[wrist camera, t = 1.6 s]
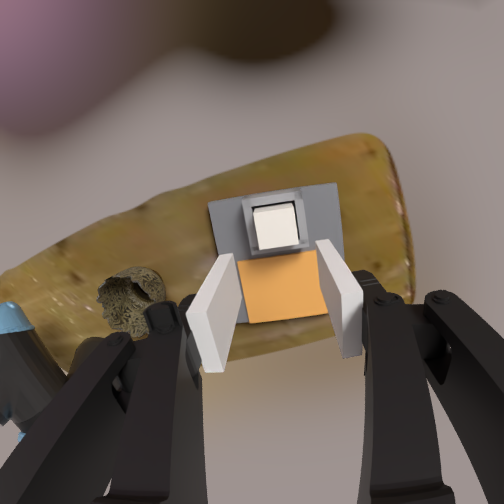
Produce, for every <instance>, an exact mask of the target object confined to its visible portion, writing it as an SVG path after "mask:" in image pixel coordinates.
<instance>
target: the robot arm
mask: <svg viewBox="0 0 504 504" xmlns="http://www.w3.org/2000/svg"><path fill="white" fill-rule="evenodd" d="M315 245H316V254H317V263H318V273H319V284H320V289H321V292H322V295H323V298H324V301H325V304H326V307H327V310H328V313H329V316H330V319H331V322H332V325H333V328H334V332H335V335H336V338H337V341H338V344H339V348H340V351H341V354H342V358H343V359H344V358H349V357H354V356H359V355H362V345H363V346H364V348H365V350H366V353H365V368H364V369H365V370H364V376H365V426H364V444H363V456H362V457H363V458H362V468H361V477H360V485H359V494H358V500H357V504H455V497H454V492H453V491H452V489H451V487H449V486H447V485H445V484H444V483H443V481H442V475H441V463H440V453H439V445H438V438H437V431H436V425H435V419H434V414H433V408H432V403H431V398H430V393H429V388H428V384H427V380H428V382H429V383H430V385H431V387H432V388H433V390H434V392H435V394H436V395H437V397H438V399H439V401H440V403H441V404H442V406H443V408H444V410H445V412H446V414H447V415H448V417H449V419H450V421H451V423H452V425H453V427H454V429H455V431H456V432H457V435H458V437H459V438H460V440H461V443H462V445H463V446H464V449H465V451H466V453H467V455H468V457H469V459H470V461H471V464H472V466H473V468H474V470H475V472H476V475H477V477H478V479H479V482H480V484H481V486H482V489H483V491H484V494H485V496H486V499H487V501H488V504H504V339H503V338H502V337H501V336H500V335H499V334H498V333H497V332H496V331H495V330H494V329H493V328H492V327H491V326H490V325H489V324H488V323H487V322H486V321H485V320H483V319H482V318H481V317H480V316H479V315H478V314H477V313H476V312H475V311H474V310H473V309H471V308H470V307H469V306H468V305H467V304H466V303H465V302H464V301H462V300H461V299H460V298H459V297H458V296H457V295H455V294H454V293H452V292H448V291H446V290H438V291H433V292H430V293H428V294H427V295H426V296H425V300H424V304H413V305H412V304H405V303H404V300H403V299H402V297H401V296H399V295H397V294H394V293H390V292H386V290H385V289H384V288H383V287H382V285H381V284H380V283H379V281H378V280H377V279H376V278H375V277H374V275H373V274H372V273H370V272H368V271H366V270H360V271H354V272H351V271H350V270H349V268H348V267H347V265H346V264H345V262H344V261H343V259H342V258H341V256H340V255H339V253H338V252H337V250H336V249H335V247H334V246H333V245H332V243H331V242H330V240H329V239H325V240H318V241H315ZM241 300H242V295H241V290H240V285H239V280H238V276H237V271H236V266H235V261H234V256H233V253H229V254H222V255H219V257H218V258H217V260H216V262H215V264H214V265H213V267H212V269H211V270H210V272H209V274H208V276H207V277H206V279H205V281H204V282H203V284H202V286H201V288H200V289H199V291H198V293H197V294H191V295H188V296H187V297H185V298H184V299H183V300H182V301H181V302H180V304H179V307H177V305H176V303H175V302H173V301H162V302H158V303H155V304H153V305H150V306H149V307H147V308H146V309H145V310H144V311H143V312H142V313H143V315H144V318H145V321H146V324H147V326H148V329H149V331H150V332H149V335H148V338H146V339H142V340H137V341H133V340H132V338H131V335H130V334H129V333H128V332H115V333H112V334H110V335H109V336H107V337H106V338H101V337H90V338H87V339H85V340H84V341H83V342H82V343H81V344H80V345H79V346H78V348H77V349H76V352H75V356H74V359H73V361H72V364H71V367H70V370H69V373H68V375H67V376H66V375H65V374H64V372H63V371H62V370H61V368H60V367H59V366H58V364H57V363H56V362H55V360H54V359H53V357H52V356H51V354H50V353H49V351H48V350H47V348H46V347H45V345H44V344H43V342H42V341H41V339H40V338H39V336H38V334H37V333H36V331H35V330H34V329H35V327H34V326H33V325H31V323H30V322H29V320H28V318H27V317H26V315H25V314H24V312H23V311H22V309H21V307H20V306H19V305H18V304H16V303H15V302H11V301H10V302H4V303H1V304H0V427H3V426H4V425H5V424H6V423H7V422H8V421H9V420H12V421H13V422H14V423H15V424H16V425H17V427H19V429H20V430H21V432H20V433H19V434H18V435H19V436H18V442H19V444H18V445H17V446H16V448H15V449H14V450H13V452H12V453H11V455H10V456H9V458H8V459H7V460H6V462H5V463H4V465H3V466H2V467H1V469H0V504H208V500H207V488H206V472H205V456H204V435H203V411H202V410H203V405H202V378H201V375H200V372H199V368H200V365H201V362H202V365H203V368H204V371H205V373H211V372H212V373H213V372H224V370H225V365H226V361H227V357H228V353H229V349H230V345H231V341H232V337H233V333H234V328H235V324H236V320H237V316H238V312H239V308H240V304H241ZM450 347H451V348H450ZM426 378H427V379H426ZM111 478H112V480H111ZM110 480H111V485H110V490H109V493H108V494H107V495H106V496H103V495H104V493H105V491H106V488H107V486H108V484H109V482H110Z"/></svg>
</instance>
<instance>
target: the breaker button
mask: <svg viewBox="0 0 504 504" xmlns="http://www.w3.org/2000/svg"><path fill="white" fill-rule="evenodd" d="M253 216H254V221H255V227H256V232H257V238H258V244H259V249H260V250H262V249H269V248H276V247H283V246H290V245H297V244H299V241H298V234H297V227H296V220H295V213H294V207H293V205H292V202H291V203H284V204H277V205H271V206H264V207H258V208H255V210H254V212H253Z"/></svg>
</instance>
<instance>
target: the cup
mask: <svg viewBox="0 0 504 504" xmlns="http://www.w3.org/2000/svg"><path fill="white" fill-rule="evenodd" d="M98 293H99V296H98V297H97V302H98V303H102V307H103V308H104V312H103V313H102V316H103V318H104V319H107V318H108V323H109V325H110V327H111V328H112V329H117V330H118V329H120V330H122V332H130V335H131V337H132V338H134V337H137V336H138V337H139V338H140V337H141V336H142V335H143V334H145V333H146V332H147V334H149V332H150V331H149V329H148V326H147V324H146V321H145V318H144V315H143V313H142V312H143V311H144V310H145V309H146V308H147V307H149V306H150V305H153V304H155V303H158V302H162V301H165V298H166V292H165V287H164V284H163V280H162V278H161V276H160V275H159V273H157V272H156V271H154V270H151V269H148V268H145V267H132V268H129V269H126V270H124V271H122V272H120V273H118V274H116V275H114V276H112V277H110V278H108V279H106V280H105V282H104V283H103V284H102V285H101V286H100V287H99V288H98Z"/></svg>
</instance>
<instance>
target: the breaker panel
mask: <svg viewBox="0 0 504 504" xmlns="http://www.w3.org/2000/svg"><path fill="white" fill-rule="evenodd" d="M291 202H292V205H293V207H294V213H295V220H296V227H297V234H298V241H299V244H297V245H290V246H283V247H276V248H269V249H262V250H260V249H259V244H258V238H257V232H256V227H255V221H254V216H253V212H254V210H255V208H258V207H264V206H271V205H277V204H284V203H291ZM208 207H209V212H210V217H211V222H212V226H213V231H214V236H215V241H216V245H217V250H218V254H219V255H222V254H229V253H233V256H234V261H235V266H236V271H237V276H238V280H239V285H240V290H241V295H242V300H241V304H240V308H239V312H238V316H237V320H236V323H243V322H250V323H259V322H267V321H275V320H283V319H291V318H298V317H305V316H312V315H319V314H325V313H328V310H327V307H326V304H325V301H324V298H323V295H322V292H321V289H320V284H319V273H318V263H317V254H316V245H315V241H318V240H325V239H329V240H330V242H331V243H332V245H333V246H334V247H335V249H336V250H337V252H338V253H339V255H340V256H341V258H342V259H343V261H344V248H343V236H342V226H341V216H340V207H339V199H338V191H337V183H326V184H318V185H310V186H303V187H296V188H289V189H282V190H276V191H269V192H263V193H257V194H251V195H245V196H239V197H233V198H228V199H222V200H217V201H212V202H209V203H208ZM344 262H345V261H344Z"/></svg>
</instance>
